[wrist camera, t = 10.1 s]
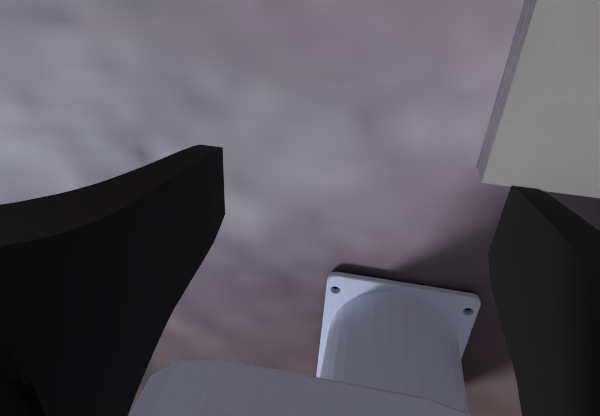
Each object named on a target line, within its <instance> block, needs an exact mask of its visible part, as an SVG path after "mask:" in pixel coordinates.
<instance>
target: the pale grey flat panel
mask: <svg viewBox="0 0 600 416" xmlns="http://www.w3.org/2000/svg"><path fill="white" fill-rule="evenodd" d="M477 170H478V173H479V176H480V179H481V182H482V183H486V184H494V185H502V186H509V187H511V186H512V185H513V186H520V187H528V188H536V189H540V190H542V191H548V192H555V193H563V194H570V195H578V196H586V197H593V198H600V0H525V2H524V6H523V9H522V13H521V16H520V20H519V23H518V26H517V30H516V33H515V37H514V40H513V44H512V47H511V51H510V54H509V57H508V61H507V64H506V68H505V71H504V75H503V78H502V81H501V85H500V88H499V92H498V95H497V99H496V102H495V106H494V109H493V112H492V116H491V119H490V123H489V126H488V130H487V133H486V136H485V140H484V143H483V147H482V150H481V154H480V157H479V161H478V164H477Z"/></svg>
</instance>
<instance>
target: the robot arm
mask: <svg viewBox="0 0 600 416" xmlns="http://www.w3.org/2000/svg"><path fill="white" fill-rule="evenodd" d="M224 215H225V201H224V175H223V149H222V147H214V146H207V145H197V146H193V147H190V148H187V149H185V150H182V151H179V152H177V153H175V154H172V155H170V156H167V157H165V158H163V159H160V160H158V161H155V162H153V163H151V164H148V165H146V166H143V167H141V168H138V169H136V170H133V171H130V172H128V173H125V174H122V175H120V176H117V177H114V178H112V179H109V180H106V181H103V182H100V183H97V184H93V185H90V186H87V187H83V188H79V189H76V190H72V191H68V192H64V193H60V194H56V195H51V196H46V197H41V198H36V199H31V200H26V201H21V202H15V203H9V204H2V205H0V416H128V413H129V410H130V408H131V405H132V403H133V400H134V398H135V395H136V393H137V390H138V387H139V385H140V383H141V380H142V378H143V376H144V373H145V371H146V369H147V366H148V364H149V362H150V359H151V357H152V354H153V352H154V350H155V348H156V345H157V343H158V341H159V339H160V337H161V335H162V332H163V330H164V328H165V326H166V324H167V321H168V319H169V317H170V316H171V314H172V312H173V310H174V308H175V306H176V305H177V303H178V301H179V300H180V298H181V296H182V295H183V293H184V291H185V290H186V288H187V286H188V285H189V283H190V281H191V280H192V278H193V276H194V275H195V273H196V272H197V270H198V268H199V267H200V265H201V263H202V262H203V260H204V258H205V256H206V255H207V253H208V251H209V250H210V248H211V246H212V244H213V243H214V240H215V238H216V235H217V233H218V231H219V228H220V226H221V223H222V221H223V218H224ZM488 256H489V267H490V276H491V284H492V290H493V294H494V298H495V301H496V305H497V309H498V312H499V316H500V320H501V323H502V327H503V330H504V334H505V338H506V341H507V345H508V348H509V352H510V356H511V359H512V363H513V367H514V371H515V376H516V380H517V385H518V392H519V398H520V405H521V411H522V416H600V231H599V230H597V229H596V228H594V227H593V226H592V225H590V224H589V223H587V222H586V221H585V220H583V219H582V218H581V217H579V216H578V215H577V214H575V213H574V212H572V211H571V210H570V209H568V208H567V207H566V206H564V205H563V204H561V203H560V202H559V201H557V200H556V199H554V198H553V197H551V196H550V195H548V194H547V193H545V192H543V191H542V190H540V189H536V188H528V187H520V186H513V185H512V186H511V189H510V192H509V195H508V197H507V200H506V203H505V206H504V209H503V212H502V215H501V218H500V221H499V224H498V226H497V229H496V232H495V235H494V238H493V241H492V244H491V247H490V250H489V253H488ZM333 286H336V287H339V289H335V288H333ZM480 305H481V303H480V299H479V297H478V296H477V295H476V294H473V293H467V292H461V291H455V290H449V289H442V288H436V287H430V286H424V285H417V284H411V283H405V282H399V281H392V280H386V279H380V278H373V277H367V276H361V275H355V274H348V273H342V272H332V273H330V274H329V276H328V279H327V287H326V296H325V305H324V313H323V322H322V331H321V340H320V349H319V358H318V366H317V375H316V377H314V376H309V375H303V374H298V373H293V372H288V371H282V370H277V369H272V368H266V367H261V366H256V365H251V364H245V363H240V362H235V361H229V360H208V359H186V360H178V361H176V362H175V363H173V364H171V365H169V366H168V367H166V368H164V369H162V370H160V371H159V372H157V373H155V374H153V375H151V376H150V378H149V380H148V382H147V384H146V386H145V387H144V389H143V391H142V393H141V395H140V397H139V398H138V400H137V402H136V404H135V406H134V408H133V409H132V411H131V413H130V415H129V416H471V415H469V413H468V406H467V399H466V391H465V384H464V377H463V370H462V363H461V358H462V356H463V353H464V350H465V347H466V344H467V342H468V339H469V336H470V333H471V331H472V328H473V325H474V322H475V320H476V317H477V314H478V311H479V308H480ZM466 308H470V309H471V310H464V309H466Z"/></svg>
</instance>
